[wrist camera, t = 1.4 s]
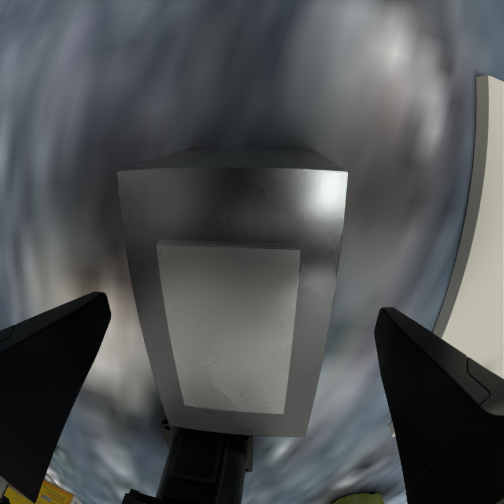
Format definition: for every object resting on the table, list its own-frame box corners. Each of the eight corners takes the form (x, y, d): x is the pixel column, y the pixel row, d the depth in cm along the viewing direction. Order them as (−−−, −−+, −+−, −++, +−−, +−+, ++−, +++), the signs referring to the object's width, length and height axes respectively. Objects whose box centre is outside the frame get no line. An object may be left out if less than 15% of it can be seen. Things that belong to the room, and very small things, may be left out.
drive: (299, 337, 15) (304, 440, 9) (201, 332, 15) (168, 428, 10) (314, 150, 11) (349, 172, 6) (189, 148, 12) (113, 172, 6)
